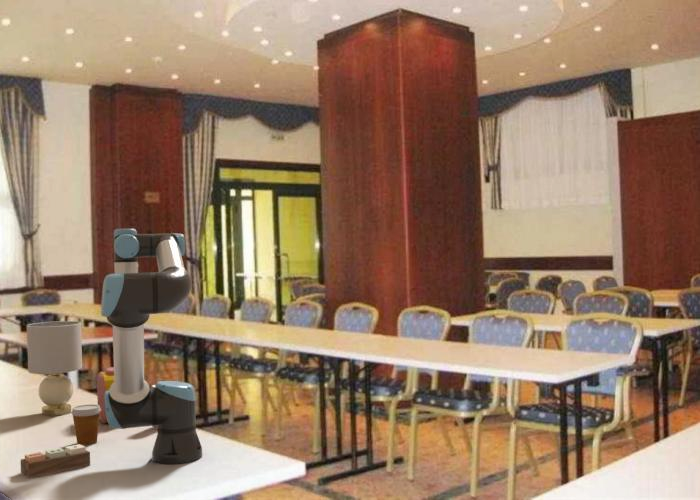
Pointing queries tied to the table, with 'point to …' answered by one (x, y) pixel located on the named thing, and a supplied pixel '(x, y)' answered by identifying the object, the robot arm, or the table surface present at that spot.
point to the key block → (55, 464)
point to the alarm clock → (104, 390)
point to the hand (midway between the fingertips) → (128, 345)
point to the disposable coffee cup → (86, 423)
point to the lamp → (54, 361)
